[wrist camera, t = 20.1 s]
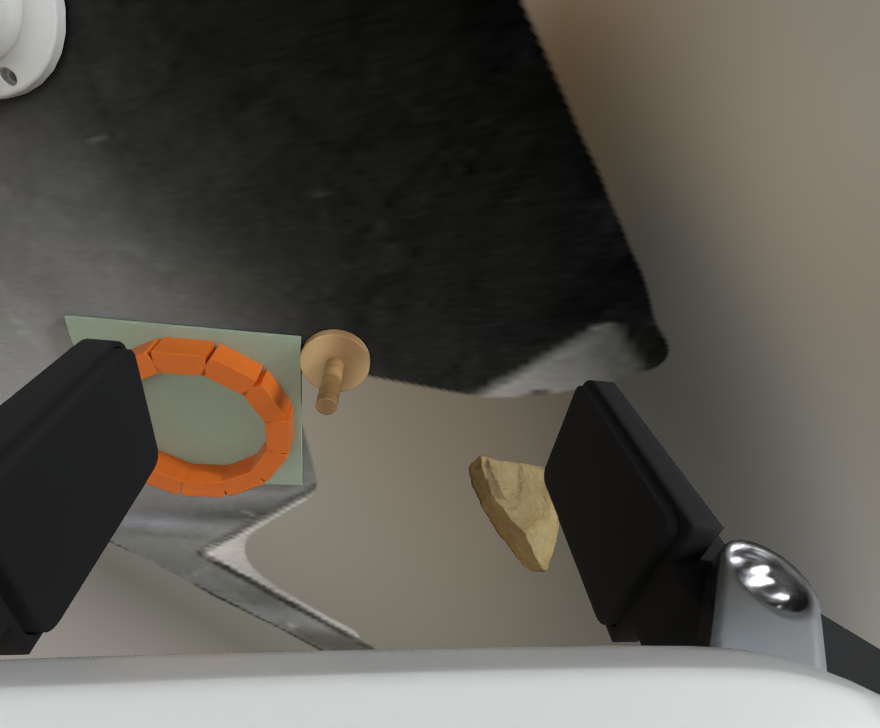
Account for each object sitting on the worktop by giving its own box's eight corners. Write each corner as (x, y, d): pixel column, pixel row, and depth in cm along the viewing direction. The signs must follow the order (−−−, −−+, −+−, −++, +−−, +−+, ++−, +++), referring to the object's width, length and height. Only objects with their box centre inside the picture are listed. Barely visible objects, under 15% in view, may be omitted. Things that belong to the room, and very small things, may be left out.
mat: (117, 475, 44) (115, 478, 44) (66, 314, 35) (63, 317, 34) (302, 482, 47) (302, 485, 46) (301, 335, 38) (300, 338, 37)
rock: (442, 487, 46) (487, 545, 50) (494, 515, 39) (542, 581, 42) (505, 416, 50) (542, 474, 54) (563, 430, 43) (601, 496, 46)
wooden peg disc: (301, 383, 40) (286, 434, 34) (301, 325, 37) (284, 370, 31) (367, 388, 41) (363, 438, 35) (372, 332, 38) (369, 377, 32)
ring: (124, 474, 43) (111, 493, 41) (79, 329, 35) (60, 344, 33) (295, 481, 46) (290, 499, 44) (291, 347, 38) (286, 362, 36)
